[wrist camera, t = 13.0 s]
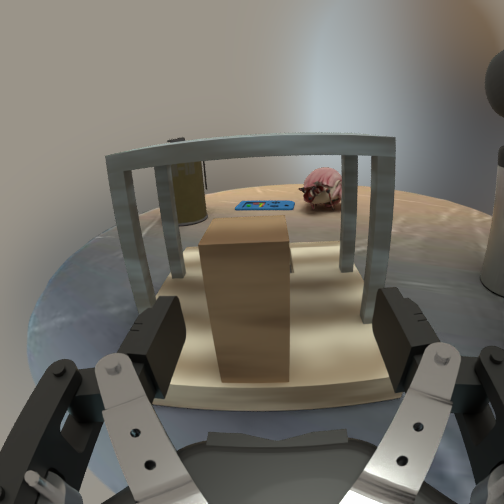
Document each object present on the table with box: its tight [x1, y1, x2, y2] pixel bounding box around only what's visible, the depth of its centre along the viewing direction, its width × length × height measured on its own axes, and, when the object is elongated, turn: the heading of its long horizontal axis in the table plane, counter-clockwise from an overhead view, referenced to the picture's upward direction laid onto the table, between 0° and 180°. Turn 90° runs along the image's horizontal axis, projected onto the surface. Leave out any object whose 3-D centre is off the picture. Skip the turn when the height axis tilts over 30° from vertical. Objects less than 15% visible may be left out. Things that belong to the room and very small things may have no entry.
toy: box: [299, 167, 342, 210], centre depth 71 cm, size 12×11×15 cm
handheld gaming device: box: [235, 201, 295, 210], centre depth 79 cm, size 8×1×15 cm
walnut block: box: [198, 215, 290, 383], centre depth 21 cm, size 5×5×11 cm
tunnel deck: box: [105, 133, 403, 411], centre depth 30 cm, size 28×24×20 cm
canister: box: [167, 138, 208, 226], centre depth 68 cm, size 11×10×20 cm
